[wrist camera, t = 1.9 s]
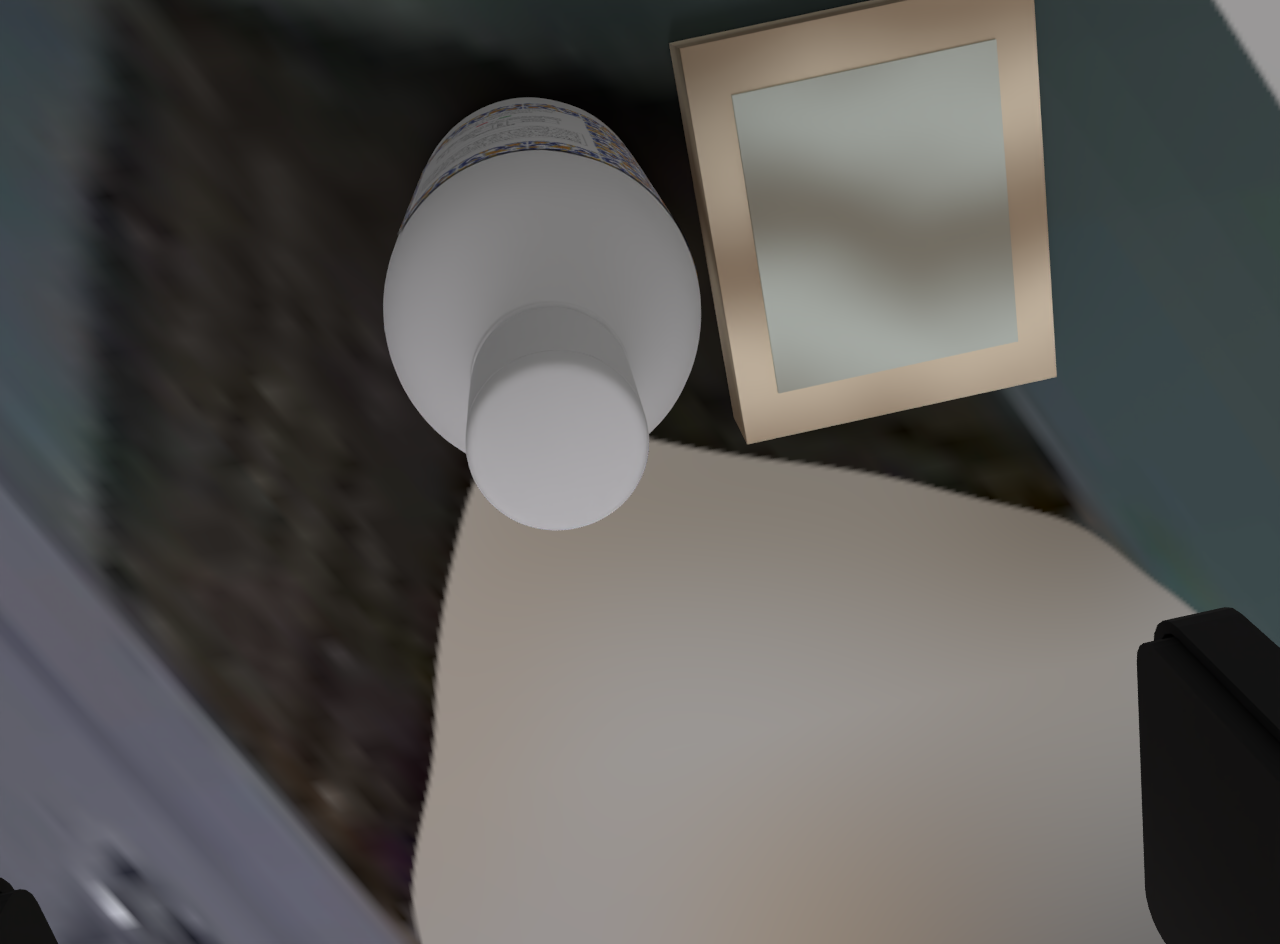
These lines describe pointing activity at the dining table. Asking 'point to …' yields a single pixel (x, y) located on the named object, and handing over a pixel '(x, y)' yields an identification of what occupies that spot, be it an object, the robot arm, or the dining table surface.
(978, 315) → the plinth
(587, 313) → the bath foam
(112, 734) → the dining table surface
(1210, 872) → the robot arm
